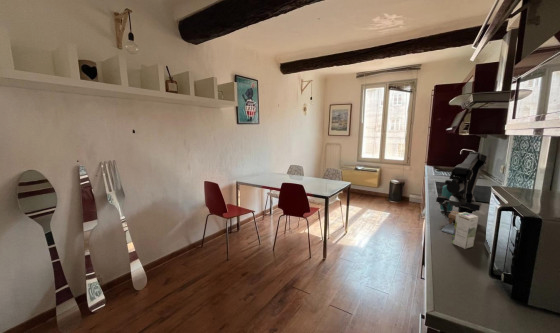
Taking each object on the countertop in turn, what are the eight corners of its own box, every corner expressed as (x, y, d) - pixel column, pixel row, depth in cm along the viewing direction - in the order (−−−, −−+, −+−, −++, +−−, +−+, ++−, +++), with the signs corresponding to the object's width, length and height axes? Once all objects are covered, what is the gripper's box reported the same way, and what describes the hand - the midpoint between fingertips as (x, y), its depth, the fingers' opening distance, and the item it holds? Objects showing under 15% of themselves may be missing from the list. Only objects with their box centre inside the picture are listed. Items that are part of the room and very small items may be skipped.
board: (448, 225, 124) (448, 223, 124) (469, 230, 117) (469, 229, 117) (441, 230, 117) (441, 229, 117) (463, 237, 110) (463, 235, 110)
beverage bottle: (454, 213, 140) (458, 181, 137) (442, 213, 141) (446, 181, 138) (448, 210, 146) (452, 179, 143) (437, 209, 148) (441, 178, 144)
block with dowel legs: (451, 220, 130) (453, 210, 129) (462, 223, 126) (464, 213, 125) (447, 224, 125) (448, 214, 124) (458, 227, 121) (460, 216, 120)
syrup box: (459, 241, 107) (463, 211, 104) (474, 247, 102) (478, 216, 99) (451, 243, 105) (455, 213, 102) (465, 249, 100) (470, 217, 97)
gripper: (434, 189, 124) (431, 216, 127) (479, 197, 110) (474, 227, 113) (441, 185, 131) (437, 211, 134) (483, 192, 117) (479, 221, 120)
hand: (455, 217), depth 125 cm, fingers open, 9 cm apart
